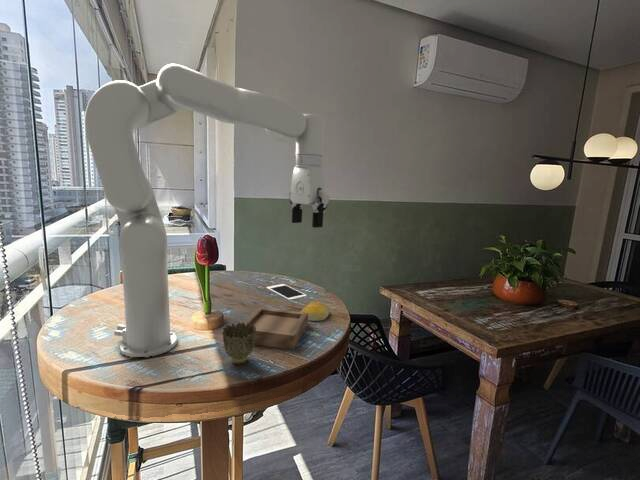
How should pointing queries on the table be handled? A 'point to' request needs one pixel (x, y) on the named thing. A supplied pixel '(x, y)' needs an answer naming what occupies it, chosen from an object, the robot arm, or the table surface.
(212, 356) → the table surface
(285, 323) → the walnut tray
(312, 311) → the bread roll
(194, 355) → the table surface
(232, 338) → the cup
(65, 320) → the table surface
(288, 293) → the cell phone
